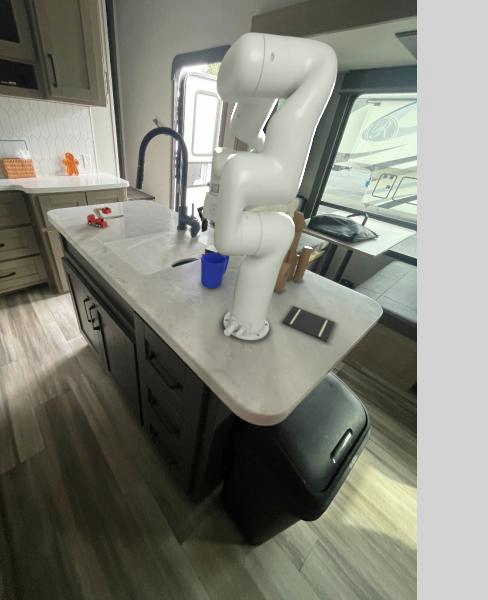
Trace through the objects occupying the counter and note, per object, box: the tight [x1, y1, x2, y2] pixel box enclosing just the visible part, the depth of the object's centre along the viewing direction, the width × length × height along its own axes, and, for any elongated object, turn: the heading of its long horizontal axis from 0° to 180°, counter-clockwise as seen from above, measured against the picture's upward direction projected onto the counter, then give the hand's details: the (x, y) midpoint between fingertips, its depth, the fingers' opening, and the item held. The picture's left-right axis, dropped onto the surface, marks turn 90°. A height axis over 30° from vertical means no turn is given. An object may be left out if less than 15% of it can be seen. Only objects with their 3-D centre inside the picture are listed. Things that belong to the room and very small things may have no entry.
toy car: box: [201, 245, 222, 257], centre depth 108 cm, size 8×4×6 cm
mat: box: [282, 306, 335, 342], centre depth 78 cm, size 10×12×1 cm
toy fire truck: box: [86, 206, 112, 228], centre depth 128 cm, size 3×14×10 cm, turn 64°
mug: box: [200, 253, 230, 289], centre depth 90 cm, size 8×12×10 cm
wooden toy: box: [273, 210, 313, 293], centre depth 89 cm, size 15×7×25 cm, turn 129°
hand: (214, 234), depth 104 cm, fingers open, 9 cm apart
